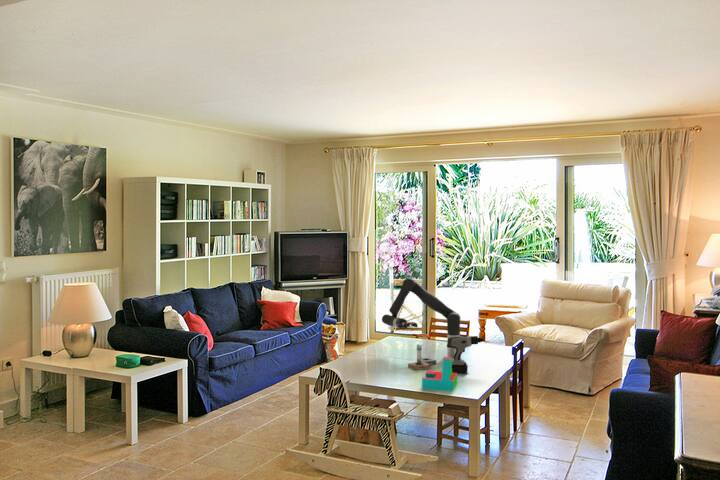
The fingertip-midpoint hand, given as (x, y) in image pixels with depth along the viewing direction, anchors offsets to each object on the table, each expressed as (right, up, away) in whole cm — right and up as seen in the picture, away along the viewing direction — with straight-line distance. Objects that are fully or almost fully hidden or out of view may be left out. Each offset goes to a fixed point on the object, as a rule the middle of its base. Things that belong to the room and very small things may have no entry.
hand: (411, 326), depth 434 cm
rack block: (+4, -27, -11) cm, 29 cm away
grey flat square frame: (+11, -26, +2) cm, 29 cm away
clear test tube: (+4, -27, -11) cm, 29 cm away
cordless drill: (+33, -28, -24) cm, 50 cm away
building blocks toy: (+13, -29, -54) cm, 63 cm away
